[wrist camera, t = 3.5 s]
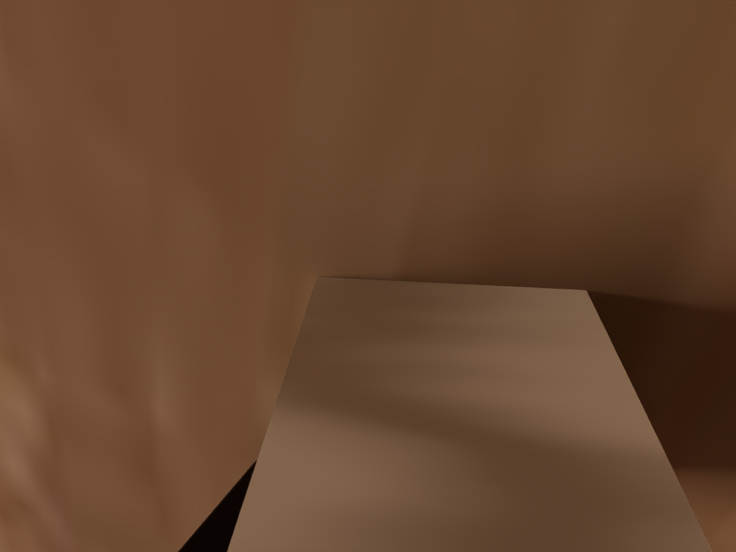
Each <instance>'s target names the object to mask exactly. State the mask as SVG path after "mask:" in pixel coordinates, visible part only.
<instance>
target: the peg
mask: <svg viewBox="0 0 736 552" xmlns="http://www.w3.org/2000/svg"><path fill="white" fill-rule="evenodd" d="M227 552H713V551H712V549H711V547H710V545H709V543H708V541H707V539H706V537H705V535H704V533H703V530H702V528H701V526H700V524H699V522H698V520H697V518H696V516H695V514H694V512H693V510H692V508H691V506H690V504H689V502H688V499H687V497H686V495H685V493H684V491H683V489H682V487H681V485H680V483H679V481H678V479H677V477H676V475H675V473H674V471H673V468H672V466H671V464H670V462H669V460H668V458H667V456H666V454H665V452H664V450H663V448H662V446H661V444H660V442H659V439H658V437H657V435H656V433H655V431H654V429H653V427H652V425H651V423H650V421H649V419H648V417H647V415H646V413H645V411H644V408H643V406H642V404H641V402H640V400H639V398H638V396H637V394H636V392H635V390H634V388H633V386H632V384H631V382H630V380H629V377H628V375H627V373H626V371H625V369H624V367H623V365H622V363H621V361H620V359H619V357H618V355H617V353H616V351H615V349H614V346H613V344H612V342H611V340H610V338H609V336H608V334H607V332H606V330H605V328H604V326H603V324H602V322H601V320H600V318H599V315H598V313H597V311H596V309H595V307H594V305H593V303H592V301H591V299H590V297H589V295H588V293H587V291H586V290H571V289H551V288H531V287H511V286H491V285H471V284H451V283H431V282H411V281H391V280H371V279H351V278H331V277H317V280H316V283H315V286H314V289H313V292H312V295H311V298H310V301H309V304H308V307H307V310H306V313H305V316H304V319H303V322H302V325H301V328H300V331H299V335H298V338H297V341H296V344H295V347H294V350H293V353H292V356H291V359H290V362H289V365H288V368H287V371H286V374H285V377H284V380H283V383H282V386H281V389H280V392H279V395H278V398H277V402H276V405H275V408H274V411H273V414H272V417H271V420H270V423H269V426H268V429H267V432H266V435H265V438H264V441H263V444H262V447H261V450H260V453H259V456H258V459H257V462H256V465H255V469H254V472H253V475H252V478H251V481H250V484H249V487H248V490H247V493H246V496H245V499H244V502H243V505H242V508H241V511H240V514H239V517H238V520H237V523H236V526H235V529H234V532H233V536H232V539H231V542H230V545H229V548H228V551H227Z"/></svg>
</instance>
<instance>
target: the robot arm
mask: <svg viewBox="0 0 736 552" xmlns="http://www.w3.org/2000/svg"><path fill="white" fill-rule="evenodd" d="M256 462H257V460H256V461H255V462H254V463H253V465H252V466H251V467H250V468H249V469H248V470H247V472H246V473H245V474H244V475H243V476H242V477H241V479H240V480H239V481H238V482H237V483H236V484H235V486H234V487H233V488H232V489H231V490H230V491H229V493H228V494H227V495H226V496H225V497H224V499H223V500H222V501H221V502H220V503H219V504H218V506H217V507H216V508H215V509H214V510H213V511H212V513H211V514H210V515H209V516H208V517H207V518H206V520H205V521H204V522H203V523H202V524H201V526H200V527H199V528H198V529H197V530H196V531H195V533H194V534H193V535H192V536H191V537H190V538H189V540H188V541H187V542H186V543H185V544H184V545H183V547H182V548H181V549H180V550H179V551H178V552H227V551H228V548H229V545H230V542H231V539H232V536H233V532H234V529H235V526H236V523H237V520H238V517H239V514H240V511H241V508H242V505H243V502H244V499H245V496H246V493H247V490H248V487H249V484H250V481H251V478H252V475H253V472H254V469H255V465H256Z"/></svg>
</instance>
